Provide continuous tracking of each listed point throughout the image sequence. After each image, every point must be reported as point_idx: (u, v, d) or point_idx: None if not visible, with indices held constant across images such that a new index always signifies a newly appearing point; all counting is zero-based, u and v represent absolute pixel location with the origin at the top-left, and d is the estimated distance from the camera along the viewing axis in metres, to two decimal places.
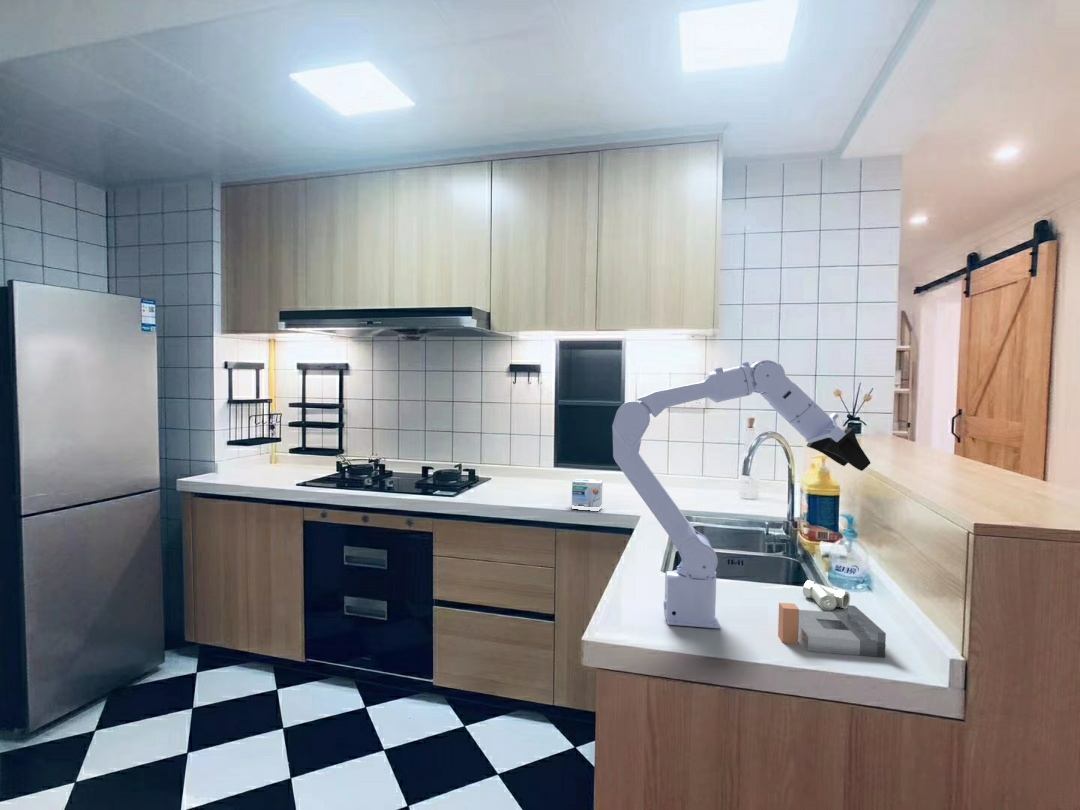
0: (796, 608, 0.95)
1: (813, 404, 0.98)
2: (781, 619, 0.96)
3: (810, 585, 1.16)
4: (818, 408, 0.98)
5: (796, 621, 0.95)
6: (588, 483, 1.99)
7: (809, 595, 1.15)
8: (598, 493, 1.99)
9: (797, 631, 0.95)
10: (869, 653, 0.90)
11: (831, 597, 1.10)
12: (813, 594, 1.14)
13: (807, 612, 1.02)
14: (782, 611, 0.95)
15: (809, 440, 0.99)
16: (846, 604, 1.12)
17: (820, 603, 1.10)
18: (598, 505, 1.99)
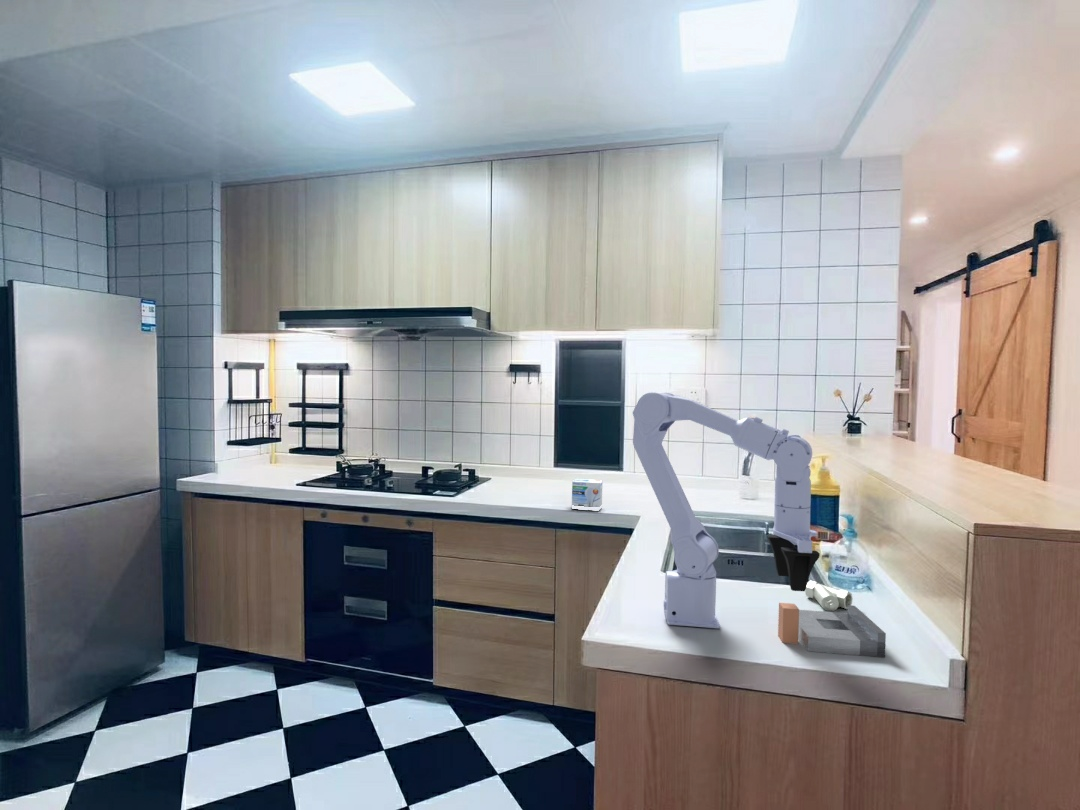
0: (796, 608, 0.95)
1: (808, 509, 0.93)
2: (781, 619, 0.96)
3: (812, 585, 1.15)
4: (808, 516, 0.94)
5: (796, 621, 0.95)
6: (588, 483, 1.99)
7: (811, 595, 1.15)
8: (598, 493, 1.99)
9: (797, 631, 0.95)
10: (869, 653, 0.90)
11: (833, 597, 1.10)
12: (815, 594, 1.13)
13: (807, 612, 1.02)
14: (782, 611, 0.95)
15: (776, 532, 0.95)
16: (849, 604, 1.11)
17: (822, 603, 1.10)
18: (598, 505, 1.99)
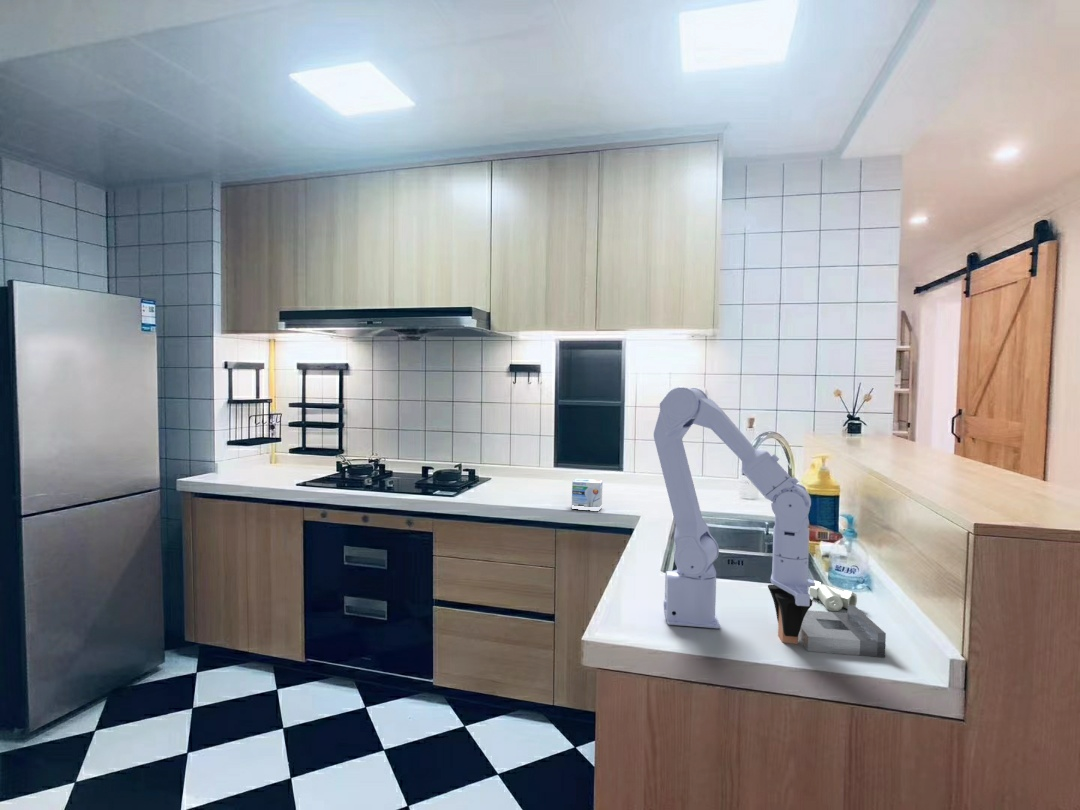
0: None
1: (806, 560, 0.94)
2: (781, 619, 0.96)
3: (817, 586, 1.15)
4: (806, 566, 0.94)
5: None
6: (588, 483, 1.99)
7: (816, 596, 1.15)
8: (598, 493, 1.99)
9: None
10: (869, 653, 0.90)
11: (837, 598, 1.09)
12: (819, 595, 1.13)
13: (807, 612, 1.02)
14: None
15: (774, 581, 0.95)
16: (853, 605, 1.11)
17: (826, 604, 1.10)
18: (598, 505, 1.99)
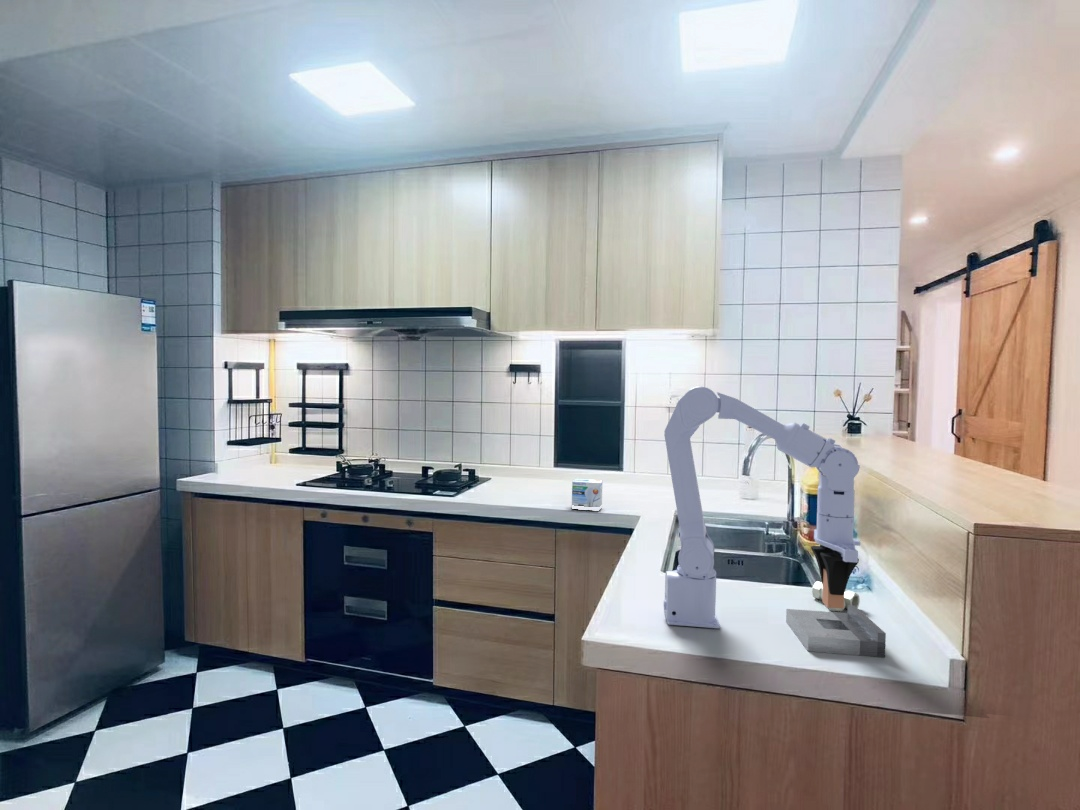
0: None
1: (852, 519, 0.94)
2: (826, 585, 0.96)
3: (819, 586, 1.15)
4: (852, 525, 0.94)
5: None
6: (588, 483, 1.99)
7: (818, 596, 1.15)
8: (598, 493, 1.99)
9: (843, 596, 0.95)
10: (869, 653, 0.90)
11: None
12: (822, 595, 1.13)
13: (807, 612, 1.02)
14: None
15: (819, 541, 0.96)
16: (856, 606, 1.11)
17: None
18: (598, 505, 1.99)
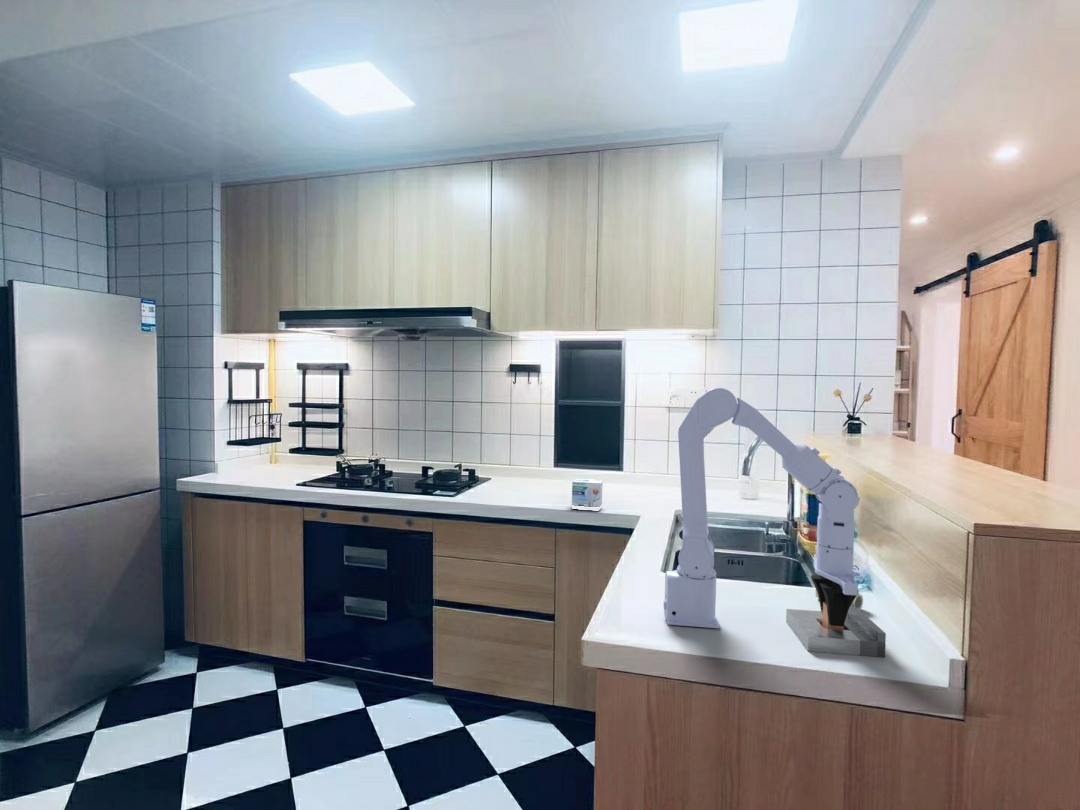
0: None
1: (851, 550, 0.94)
2: (826, 618, 0.97)
3: None
4: (852, 556, 0.95)
5: None
6: (588, 483, 1.99)
7: None
8: (598, 493, 1.99)
9: None
10: (869, 653, 0.90)
11: None
12: None
13: (807, 612, 1.02)
14: None
15: (819, 571, 0.96)
16: (859, 606, 1.11)
17: None
18: (598, 505, 1.99)
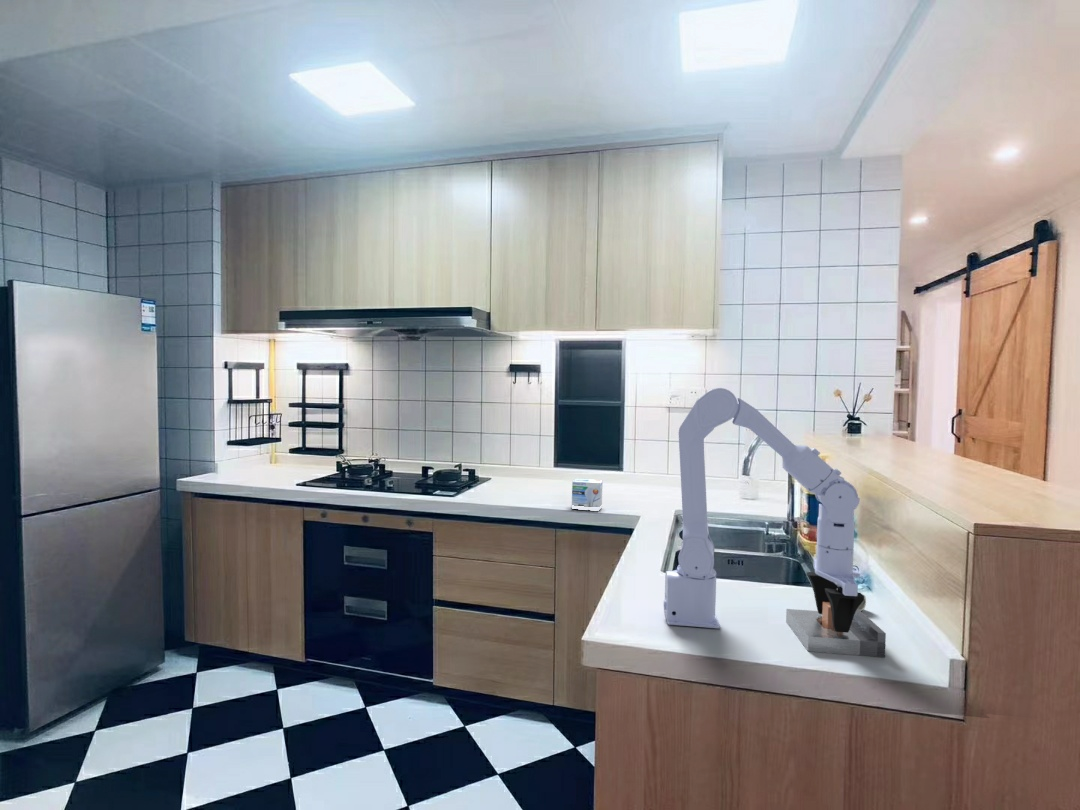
0: None
1: (851, 551, 0.94)
2: (826, 618, 0.97)
3: None
4: (852, 557, 0.95)
5: None
6: (588, 483, 1.99)
7: None
8: (598, 493, 1.99)
9: None
10: (869, 653, 0.90)
11: None
12: None
13: (807, 612, 1.02)
14: (827, 610, 0.96)
15: (819, 572, 0.96)
16: (862, 607, 1.10)
17: None
18: (598, 505, 1.99)
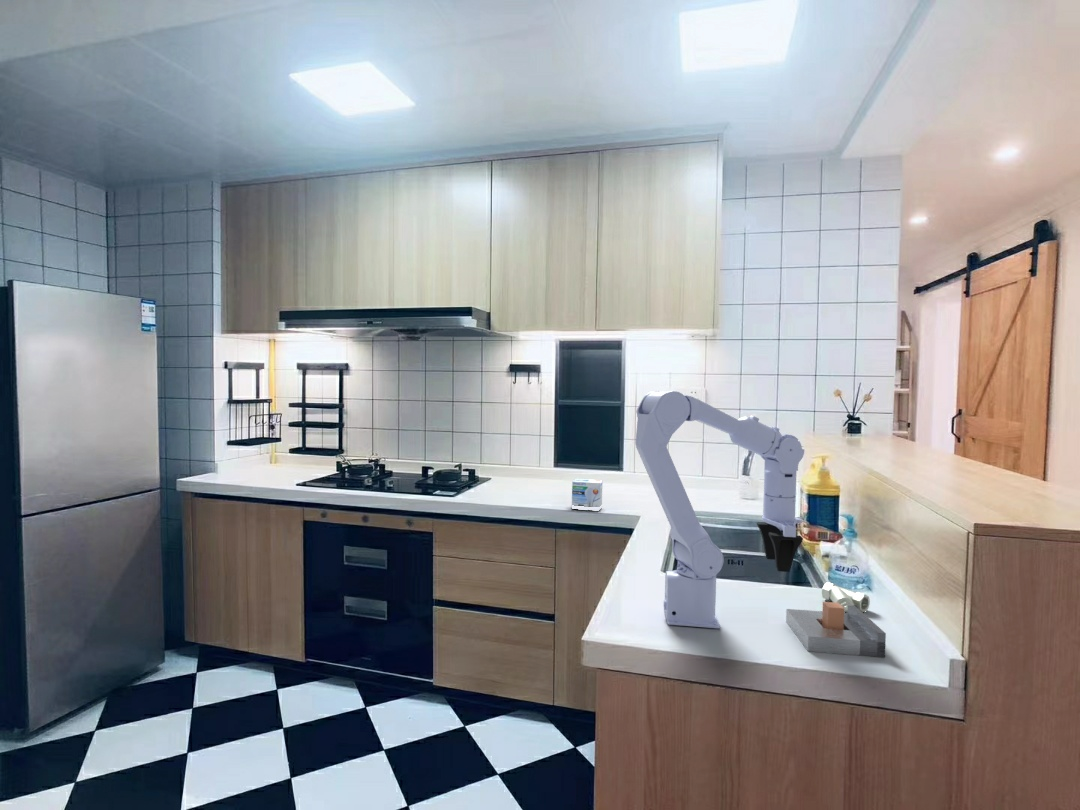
0: (841, 607, 0.96)
1: (793, 499, 1.04)
2: (826, 618, 0.97)
3: (829, 587, 1.15)
4: (794, 504, 1.04)
5: (841, 620, 0.95)
6: (588, 483, 1.99)
7: (828, 597, 1.14)
8: (598, 493, 1.99)
9: None
10: (869, 653, 0.90)
11: (848, 600, 1.09)
12: (831, 596, 1.13)
13: (807, 612, 1.02)
14: (827, 610, 0.96)
15: (764, 519, 1.06)
16: (865, 607, 1.10)
17: None
18: (598, 505, 1.99)
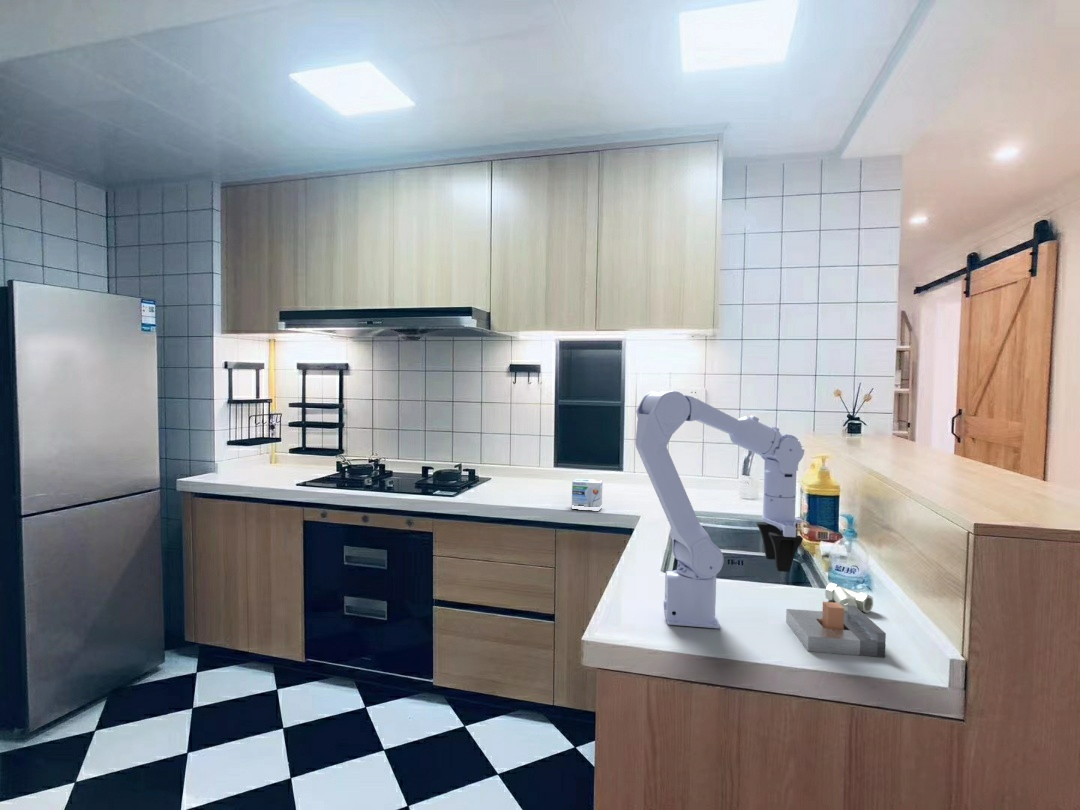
0: (841, 607, 0.96)
1: (793, 499, 1.04)
2: (826, 618, 0.97)
3: (832, 588, 1.14)
4: (794, 504, 1.04)
5: (841, 620, 0.95)
6: (588, 483, 1.99)
7: (831, 598, 1.14)
8: (598, 493, 1.99)
9: None
10: (869, 653, 0.90)
11: (851, 600, 1.08)
12: (834, 597, 1.12)
13: (807, 612, 1.02)
14: (827, 610, 0.96)
15: (764, 519, 1.06)
16: (869, 608, 1.10)
17: None
18: (598, 505, 1.99)
